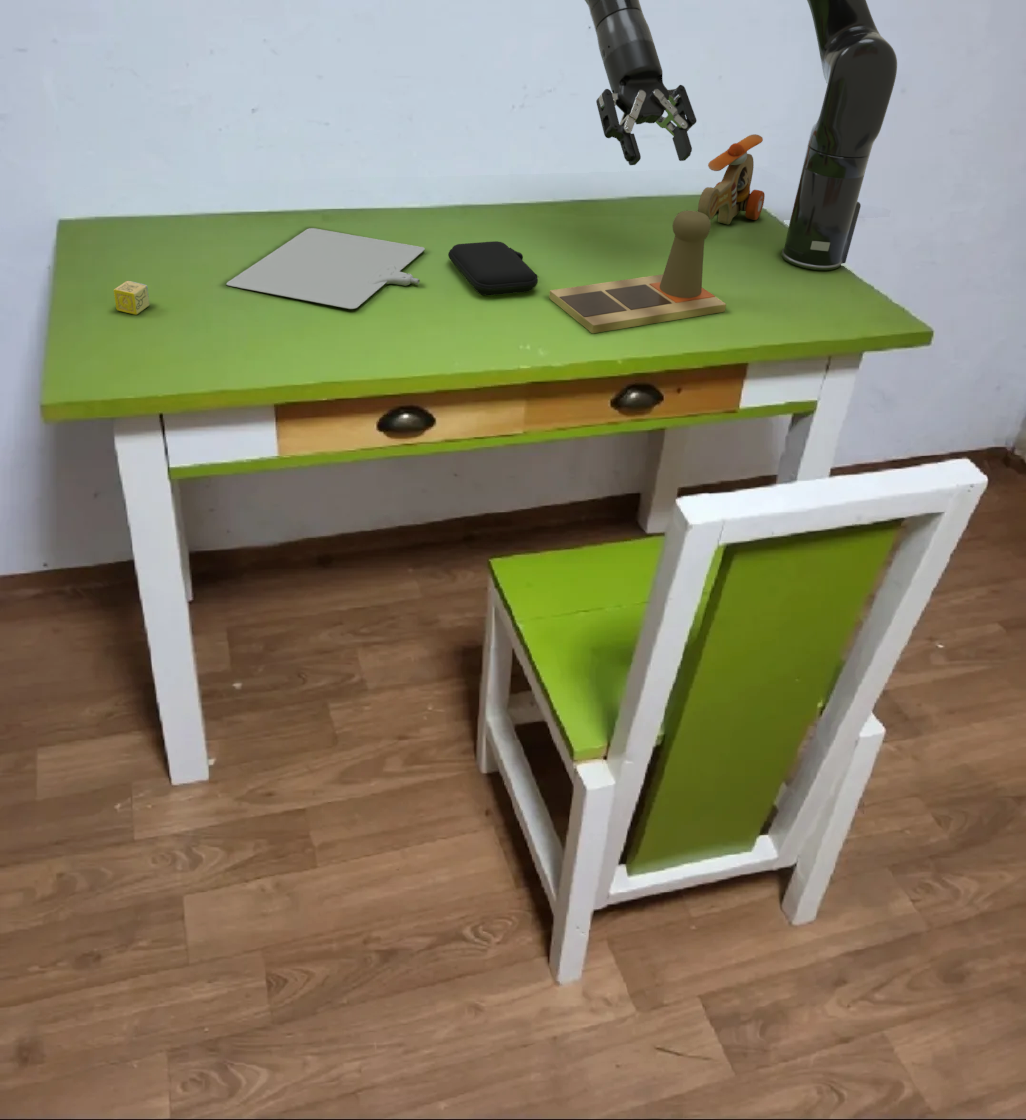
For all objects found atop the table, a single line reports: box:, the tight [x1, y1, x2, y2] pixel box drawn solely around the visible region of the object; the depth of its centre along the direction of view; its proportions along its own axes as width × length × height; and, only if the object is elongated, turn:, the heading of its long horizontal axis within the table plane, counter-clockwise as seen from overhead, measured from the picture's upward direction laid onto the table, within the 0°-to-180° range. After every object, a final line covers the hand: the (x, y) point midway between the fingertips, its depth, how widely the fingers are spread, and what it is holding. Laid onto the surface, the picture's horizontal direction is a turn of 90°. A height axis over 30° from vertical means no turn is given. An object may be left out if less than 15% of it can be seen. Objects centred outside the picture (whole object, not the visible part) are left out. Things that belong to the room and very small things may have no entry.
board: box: [548, 273, 727, 334], centre depth 149 cm, size 22×12×1 cm, turn 117°
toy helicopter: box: [697, 134, 766, 225], centre depth 175 cm, size 8×21×14 cm, turn 150°
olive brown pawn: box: [660, 210, 712, 298], centre depth 149 cm, size 6×6×11 cm
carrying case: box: [447, 240, 539, 297], centre depth 153 cm, size 11×3×15 cm
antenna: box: [226, 227, 426, 310], centre depth 152 cm, size 25×24×1 cm
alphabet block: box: [113, 280, 150, 316], centre depth 136 cm, size 3×3×3 cm
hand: (661, 160), depth 149 cm, fingers open, 8 cm apart
